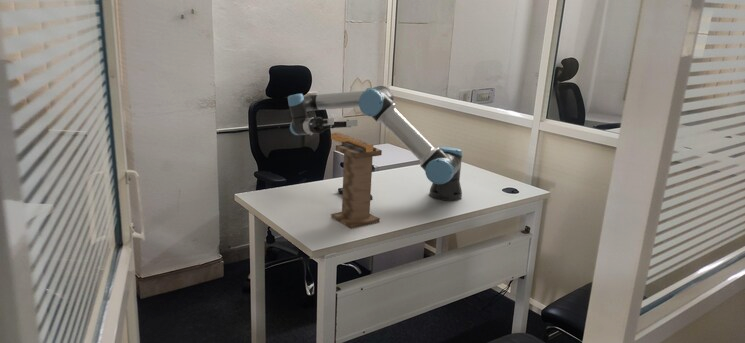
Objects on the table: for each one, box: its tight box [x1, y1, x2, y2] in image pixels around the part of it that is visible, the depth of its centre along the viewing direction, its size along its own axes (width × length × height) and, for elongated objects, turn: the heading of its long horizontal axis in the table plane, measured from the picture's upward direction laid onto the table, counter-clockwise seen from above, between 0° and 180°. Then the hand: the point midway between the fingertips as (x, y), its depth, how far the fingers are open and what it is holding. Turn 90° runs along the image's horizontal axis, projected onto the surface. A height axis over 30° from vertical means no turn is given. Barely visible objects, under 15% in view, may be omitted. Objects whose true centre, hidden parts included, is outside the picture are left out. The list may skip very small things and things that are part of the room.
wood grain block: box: [330, 132, 374, 152], centre depth 214 cm, size 24×4×2 cm, turn 37°
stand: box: [331, 142, 383, 230], centre depth 214 cm, size 14×14×31 cm
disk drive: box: [337, 187, 373, 201], centre depth 247 cm, size 10×3×15 cm
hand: (345, 122), depth 235 cm, fingers open, 13 cm apart
